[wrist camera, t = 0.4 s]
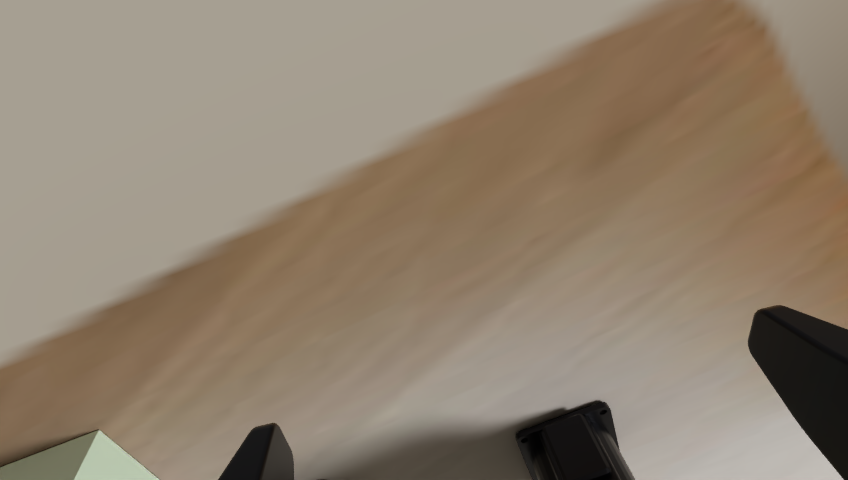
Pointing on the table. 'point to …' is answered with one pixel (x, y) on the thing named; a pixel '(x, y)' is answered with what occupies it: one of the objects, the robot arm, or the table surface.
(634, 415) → the table surface
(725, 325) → the table surface
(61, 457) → the hole block
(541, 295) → the table surface
